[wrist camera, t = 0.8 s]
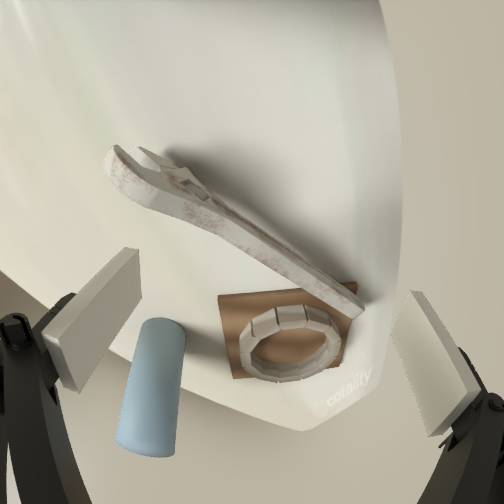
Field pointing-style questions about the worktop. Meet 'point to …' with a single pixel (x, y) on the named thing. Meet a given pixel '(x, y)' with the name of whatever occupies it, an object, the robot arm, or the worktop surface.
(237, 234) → the wrench
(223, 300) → the collar board
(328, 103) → the worktop surface
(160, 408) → the post
